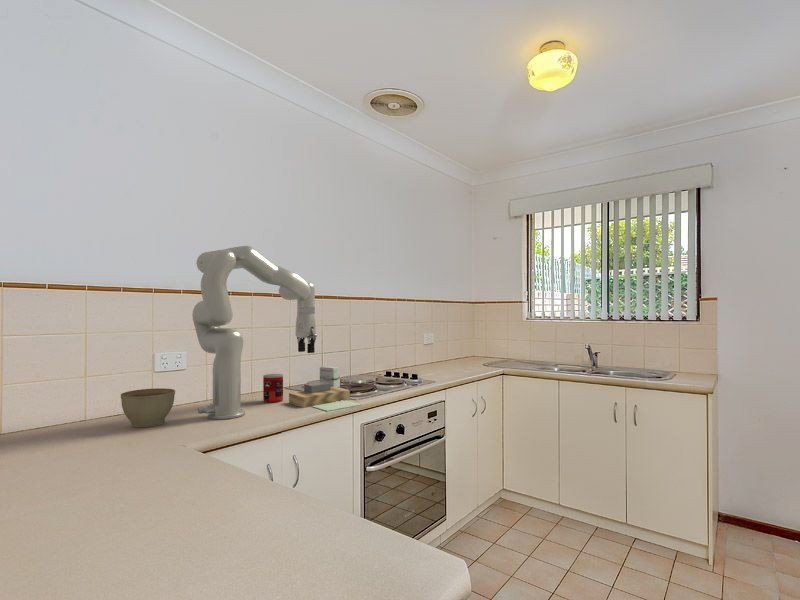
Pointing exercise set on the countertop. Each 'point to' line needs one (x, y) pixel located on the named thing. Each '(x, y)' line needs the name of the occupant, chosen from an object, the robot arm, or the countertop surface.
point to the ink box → (330, 376)
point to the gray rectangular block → (317, 387)
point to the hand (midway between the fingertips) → (306, 351)
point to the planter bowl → (147, 406)
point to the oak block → (318, 397)
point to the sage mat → (336, 405)
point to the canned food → (273, 388)
